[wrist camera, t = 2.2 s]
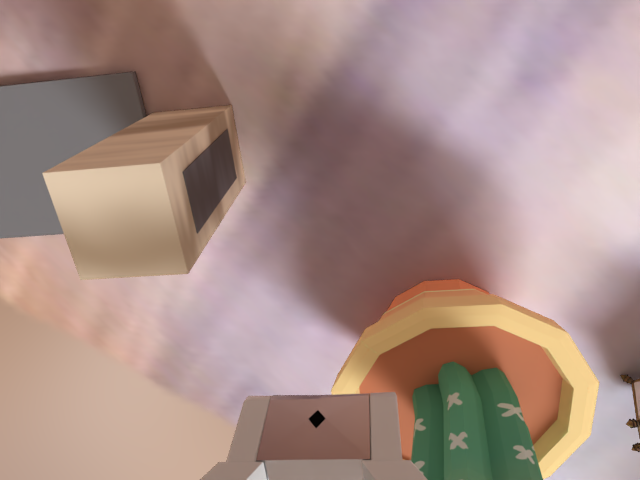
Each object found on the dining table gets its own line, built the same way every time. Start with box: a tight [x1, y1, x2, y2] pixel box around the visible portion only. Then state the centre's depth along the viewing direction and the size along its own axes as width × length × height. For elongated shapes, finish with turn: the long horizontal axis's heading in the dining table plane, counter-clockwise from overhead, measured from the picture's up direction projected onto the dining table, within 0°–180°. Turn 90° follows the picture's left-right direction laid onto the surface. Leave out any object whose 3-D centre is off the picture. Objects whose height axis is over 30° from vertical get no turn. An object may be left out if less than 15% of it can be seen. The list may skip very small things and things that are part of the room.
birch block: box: [42, 105, 246, 280], centre depth 26 cm, size 5×5×12 cm
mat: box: [0, 72, 146, 238], centre depth 33 cm, size 10×13×1 cm
